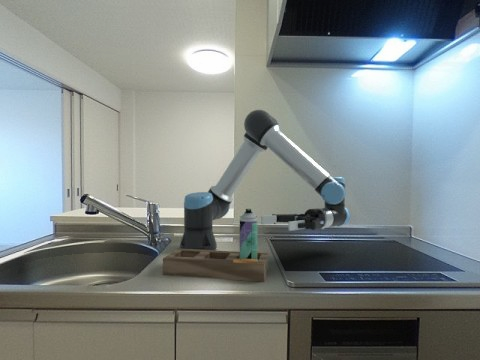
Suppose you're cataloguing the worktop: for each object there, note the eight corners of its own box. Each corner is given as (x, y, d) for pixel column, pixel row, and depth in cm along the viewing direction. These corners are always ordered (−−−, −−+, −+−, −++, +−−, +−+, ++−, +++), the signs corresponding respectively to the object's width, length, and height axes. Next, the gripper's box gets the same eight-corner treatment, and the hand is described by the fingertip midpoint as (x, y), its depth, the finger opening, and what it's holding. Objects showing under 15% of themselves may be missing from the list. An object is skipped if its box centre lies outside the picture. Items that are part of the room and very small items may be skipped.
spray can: (246, 269, 89) (247, 207, 89) (260, 273, 85) (260, 208, 85) (235, 273, 85) (236, 208, 85) (250, 277, 81) (250, 210, 81)
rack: (178, 262, 96) (178, 247, 96) (267, 268, 90) (267, 251, 90) (162, 274, 84) (162, 256, 84) (264, 281, 78) (264, 262, 78)
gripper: (347, 234, 92) (302, 242, 80) (293, 223, 113) (252, 228, 101) (347, 212, 92) (303, 216, 80) (293, 205, 113) (252, 208, 101)
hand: (274, 223), depth 90 cm, fingers open, 13 cm apart
